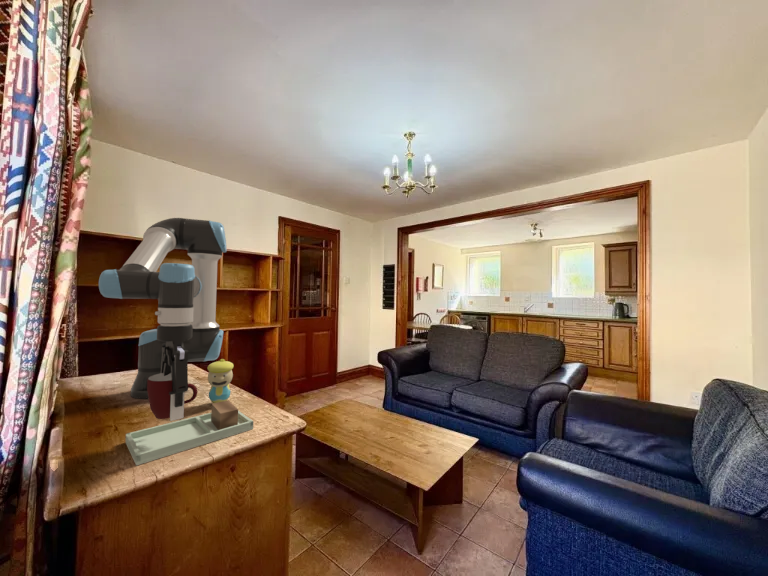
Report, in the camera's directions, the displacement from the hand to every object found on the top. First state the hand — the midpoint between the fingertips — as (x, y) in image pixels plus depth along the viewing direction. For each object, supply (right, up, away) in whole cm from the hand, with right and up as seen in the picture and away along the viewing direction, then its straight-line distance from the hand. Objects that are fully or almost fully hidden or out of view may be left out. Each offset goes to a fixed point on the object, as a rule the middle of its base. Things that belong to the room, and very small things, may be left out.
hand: (172, 413), depth 78 cm
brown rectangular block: (+8, -7, +9) cm, 14 cm away
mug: (0, 0, 0) cm, 1 cm away
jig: (+3, -7, +4) cm, 9 cm away
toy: (-2, -7, +26) cm, 27 cm away
